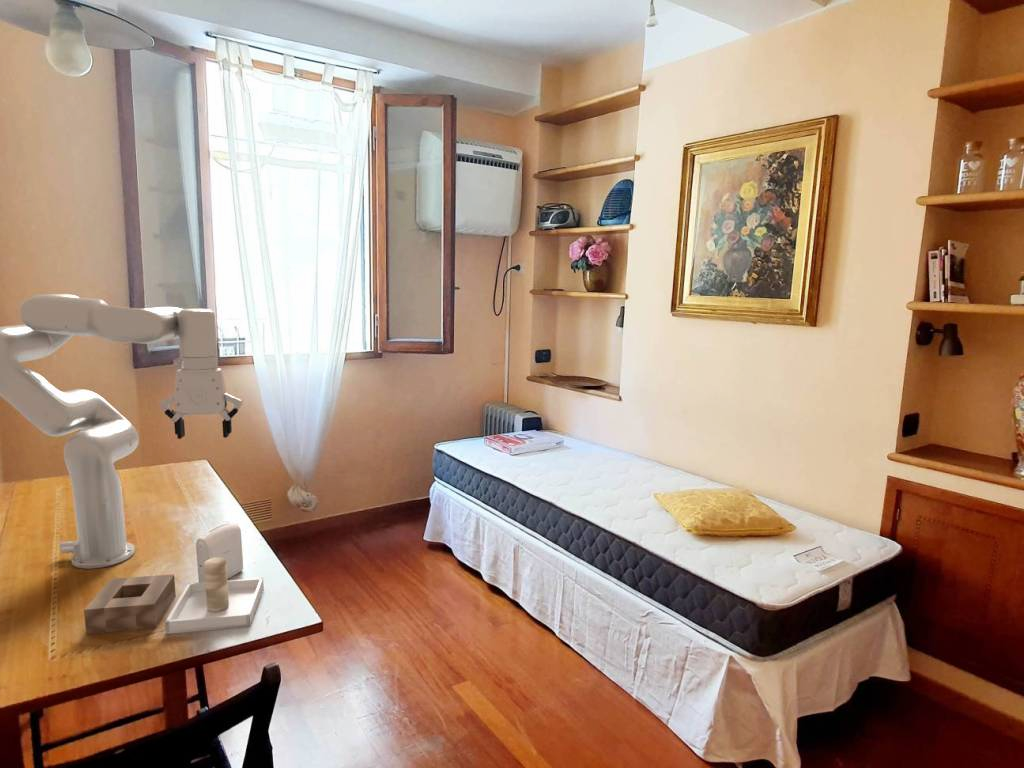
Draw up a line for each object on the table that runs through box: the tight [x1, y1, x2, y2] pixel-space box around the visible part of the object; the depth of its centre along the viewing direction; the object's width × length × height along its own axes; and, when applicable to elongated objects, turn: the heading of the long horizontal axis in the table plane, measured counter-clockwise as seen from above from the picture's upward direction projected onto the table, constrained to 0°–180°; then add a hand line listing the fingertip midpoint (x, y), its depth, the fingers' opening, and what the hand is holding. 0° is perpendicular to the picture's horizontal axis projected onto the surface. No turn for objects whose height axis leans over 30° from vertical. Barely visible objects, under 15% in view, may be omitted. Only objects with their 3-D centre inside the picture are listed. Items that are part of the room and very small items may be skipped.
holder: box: [83, 574, 177, 635], centre depth 123 cm, size 12×12×5 cm
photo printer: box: [195, 522, 244, 583], centre depth 137 cm, size 10×4×12 cm, turn 158°
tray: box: [164, 577, 265, 635], centre depth 125 cm, size 15×15×2 cm
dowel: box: [204, 557, 229, 613], centre depth 125 cm, size 4×4×10 cm
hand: (204, 436), depth 142 cm, fingers open, 9 cm apart
